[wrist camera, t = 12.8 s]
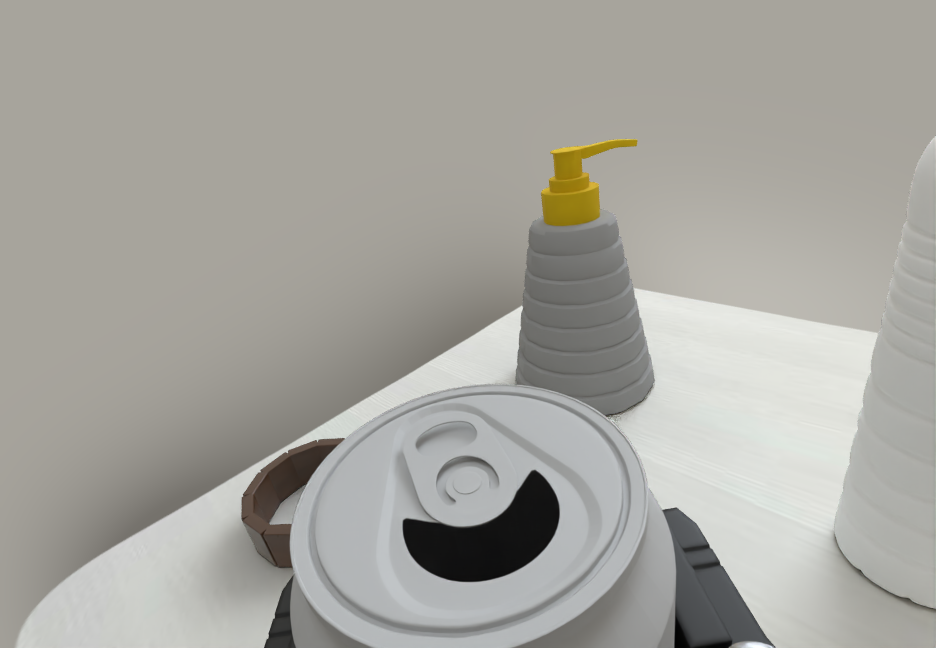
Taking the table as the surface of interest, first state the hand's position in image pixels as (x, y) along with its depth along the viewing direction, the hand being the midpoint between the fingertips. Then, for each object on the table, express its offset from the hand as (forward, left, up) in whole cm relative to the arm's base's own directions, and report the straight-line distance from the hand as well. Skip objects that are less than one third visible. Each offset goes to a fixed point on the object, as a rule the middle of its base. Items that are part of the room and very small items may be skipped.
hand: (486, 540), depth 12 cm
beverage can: (0, -2, -8) cm, 8 cm away
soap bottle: (+4, +31, -16) cm, 35 cm away
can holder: (-16, +16, -16) cm, 27 cm away
